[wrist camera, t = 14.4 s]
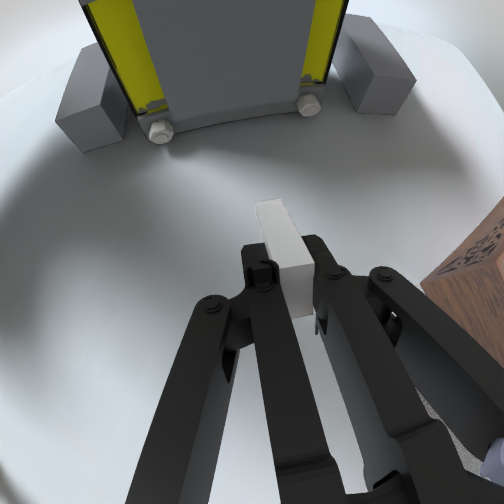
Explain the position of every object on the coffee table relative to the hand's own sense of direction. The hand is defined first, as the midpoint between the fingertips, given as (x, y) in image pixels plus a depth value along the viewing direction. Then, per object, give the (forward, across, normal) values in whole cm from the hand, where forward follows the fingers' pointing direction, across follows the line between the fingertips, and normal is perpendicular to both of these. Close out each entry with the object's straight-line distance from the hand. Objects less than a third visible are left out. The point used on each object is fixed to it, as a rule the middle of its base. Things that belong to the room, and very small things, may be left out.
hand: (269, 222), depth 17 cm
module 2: (+18, +14, +9) cm, 25 cm away
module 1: (+18, -14, +9) cm, 25 cm away
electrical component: (+16, -1, +7) cm, 17 cm away
